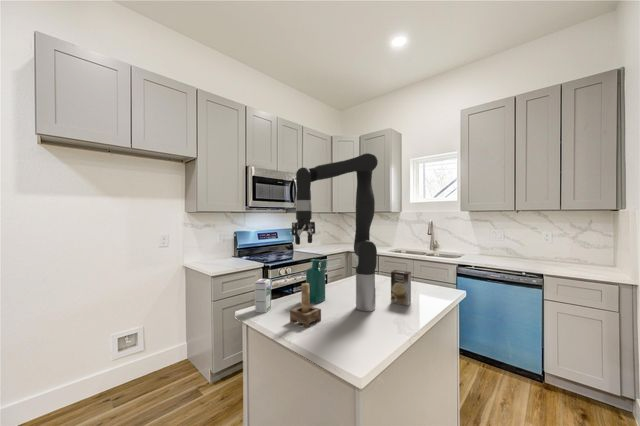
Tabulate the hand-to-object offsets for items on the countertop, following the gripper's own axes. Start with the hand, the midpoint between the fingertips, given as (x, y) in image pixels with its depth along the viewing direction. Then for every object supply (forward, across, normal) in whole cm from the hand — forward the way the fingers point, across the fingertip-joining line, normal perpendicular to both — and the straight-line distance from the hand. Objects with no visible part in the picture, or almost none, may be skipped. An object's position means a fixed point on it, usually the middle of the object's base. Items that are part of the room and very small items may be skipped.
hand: (304, 243), depth 128 cm
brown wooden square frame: (+32, -10, -10) cm, 35 cm away
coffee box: (+32, +39, -32) cm, 60 cm away
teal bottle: (+32, +14, +4) cm, 35 cm away
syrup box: (+32, -12, +16) cm, 38 cm away
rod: (+32, -10, -9) cm, 35 cm away
